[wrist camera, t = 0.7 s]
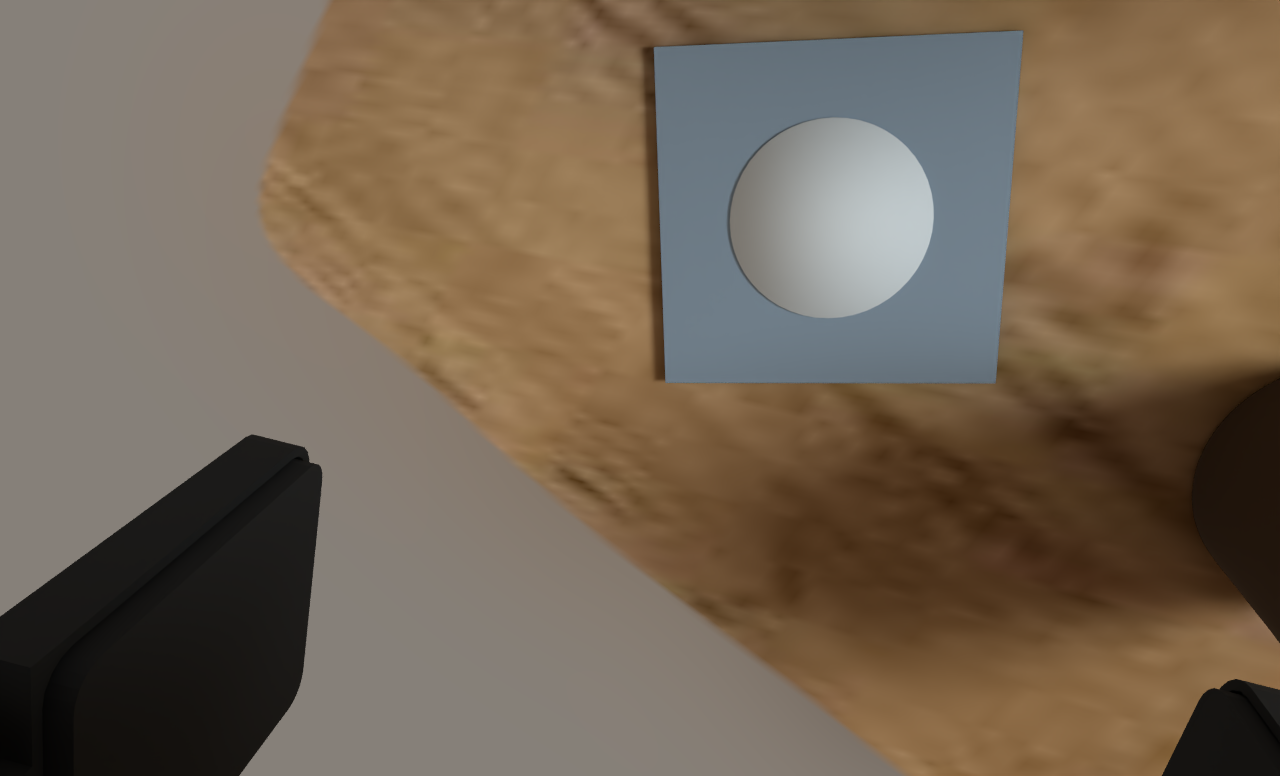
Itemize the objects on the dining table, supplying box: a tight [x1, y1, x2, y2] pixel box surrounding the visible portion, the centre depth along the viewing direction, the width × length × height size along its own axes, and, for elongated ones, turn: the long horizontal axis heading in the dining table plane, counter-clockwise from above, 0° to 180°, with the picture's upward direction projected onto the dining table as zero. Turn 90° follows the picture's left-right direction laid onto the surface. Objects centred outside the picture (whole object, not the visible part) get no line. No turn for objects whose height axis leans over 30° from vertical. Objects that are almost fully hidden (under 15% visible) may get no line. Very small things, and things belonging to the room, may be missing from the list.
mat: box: [654, 31, 1023, 383], centre depth 34 cm, size 12×12×1 cm
